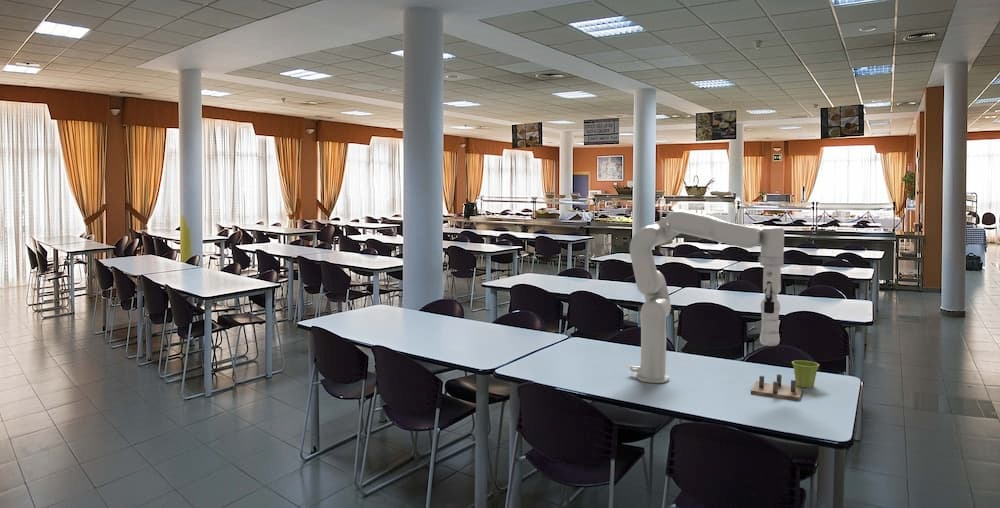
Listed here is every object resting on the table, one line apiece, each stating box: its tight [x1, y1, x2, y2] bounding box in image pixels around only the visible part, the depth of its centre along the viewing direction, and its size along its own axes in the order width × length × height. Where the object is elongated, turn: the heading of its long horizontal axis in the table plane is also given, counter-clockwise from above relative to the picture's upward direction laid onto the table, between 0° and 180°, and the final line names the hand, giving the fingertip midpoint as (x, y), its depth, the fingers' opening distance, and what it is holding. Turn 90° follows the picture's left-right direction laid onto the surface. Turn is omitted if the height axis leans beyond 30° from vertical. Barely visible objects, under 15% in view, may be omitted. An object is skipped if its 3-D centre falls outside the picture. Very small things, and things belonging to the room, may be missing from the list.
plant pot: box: [791, 360, 820, 389], centre depth 238 cm, size 9×9×9 cm
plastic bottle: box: [759, 290, 781, 347], centre depth 227 cm, size 6×7×20 cm
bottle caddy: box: [750, 373, 804, 402], centre depth 230 cm, size 16×13×5 cm
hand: (770, 311), depth 227 cm, fingers closed on plastic bottle, 6 cm apart
